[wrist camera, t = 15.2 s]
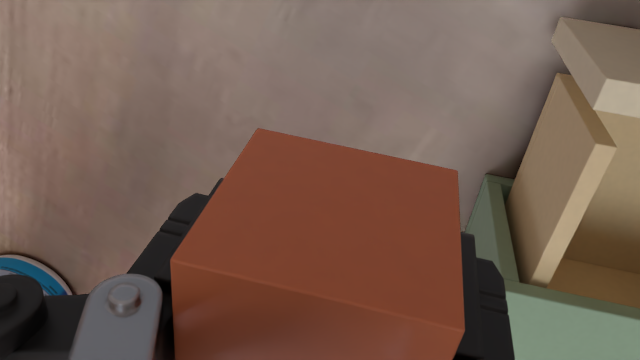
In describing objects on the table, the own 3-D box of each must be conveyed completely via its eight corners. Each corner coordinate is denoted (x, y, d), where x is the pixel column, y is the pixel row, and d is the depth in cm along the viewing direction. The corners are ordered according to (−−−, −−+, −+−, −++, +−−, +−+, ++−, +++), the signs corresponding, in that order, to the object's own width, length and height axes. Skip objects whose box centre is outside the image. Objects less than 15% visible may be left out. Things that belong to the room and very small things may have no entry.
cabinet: (485, 173, 30) (503, 290, 22) (732, 222, 29) (847, 365, 21) (426, 338, 38) (424, 468, 30) (617, 382, 37) (668, 530, 29)
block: (256, 126, 12) (168, 259, 8) (458, 169, 11) (466, 331, 8) (247, 272, 14) (176, 424, 11) (411, 311, 14) (399, 486, 10)
